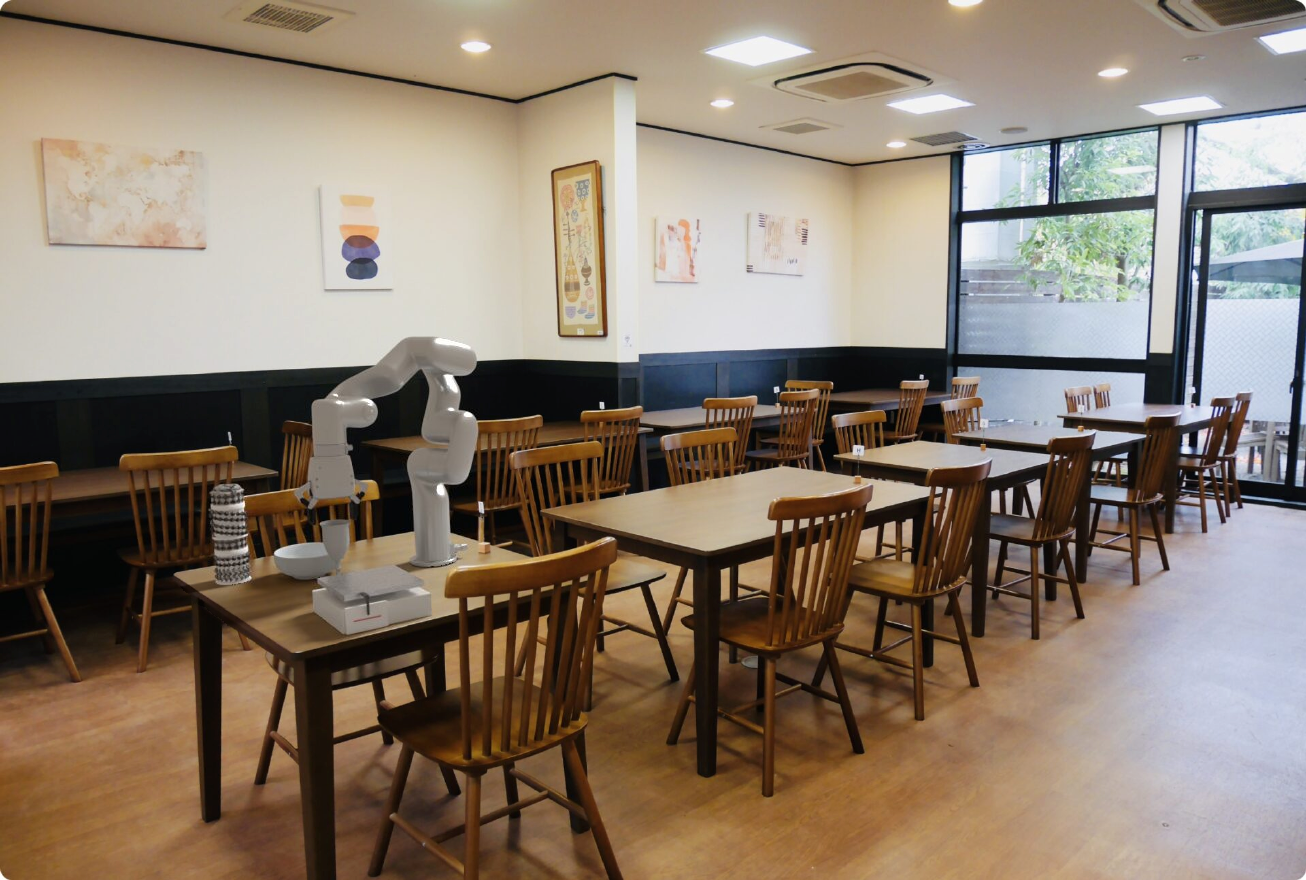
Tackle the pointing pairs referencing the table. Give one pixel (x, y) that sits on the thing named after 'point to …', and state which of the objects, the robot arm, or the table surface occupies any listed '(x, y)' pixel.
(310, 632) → the table surface
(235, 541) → the decorative candle
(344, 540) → the chalice
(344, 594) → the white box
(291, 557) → the cereal bowl
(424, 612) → the base
